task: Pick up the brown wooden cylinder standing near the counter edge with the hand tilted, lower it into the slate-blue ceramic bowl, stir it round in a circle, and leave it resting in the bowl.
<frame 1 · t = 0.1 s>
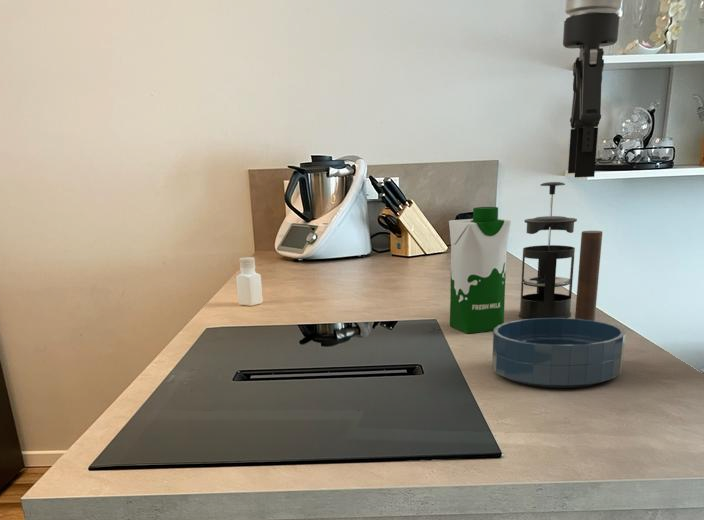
hand: (580, 175, 120), 25 cm above the countertop, tool pointing down, fingers open, 13 cm apart
bowl: (555, 373, 109), on the countertop
milk carton: (475, 328, 137), on the countertop
french press: (544, 316, 145), on the countertop
pepper shaker: (250, 305, 166), on the countertop
brown wooden cylinder: (583, 330, 132), on the countertop
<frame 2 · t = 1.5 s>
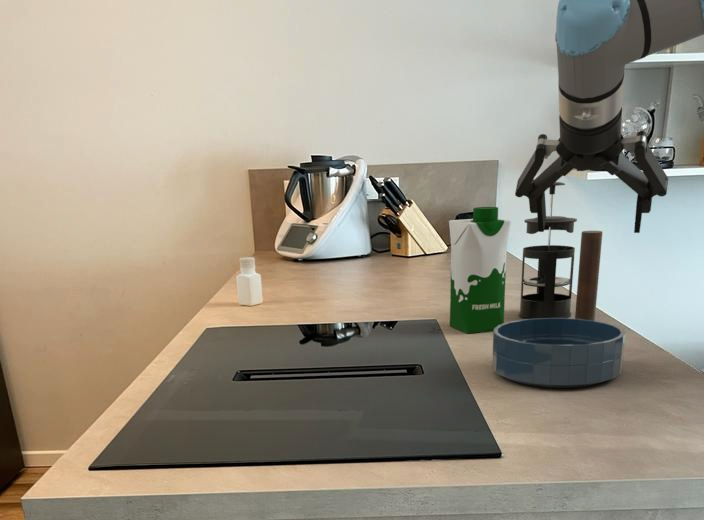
hand: (589, 225, 116), 18 cm above the countertop, tool tilted 45°, fingers open, 13 cm apart
nothing on the countertop moved.
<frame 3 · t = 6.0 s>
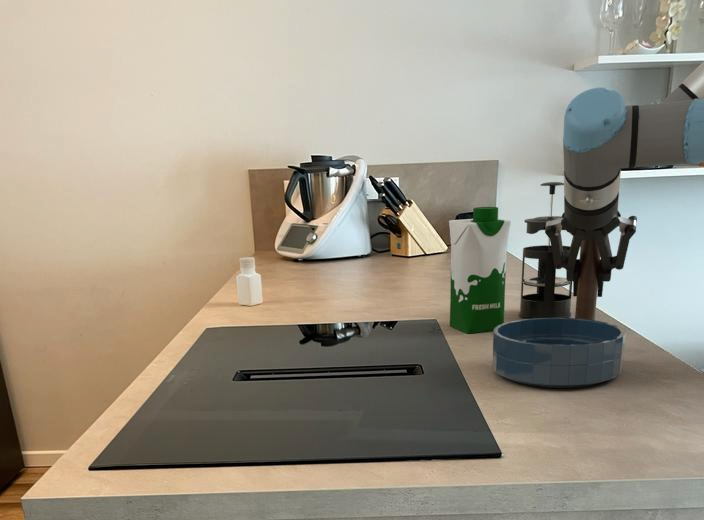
hand: (588, 289, 133), 6 cm above the countertop, tool tilted 45°, fingers closed on brown wooden cylinder, 3 cm apart
brown wooden cylinder: (583, 330, 132), on the countertop, touching gripper
everything else where it was.
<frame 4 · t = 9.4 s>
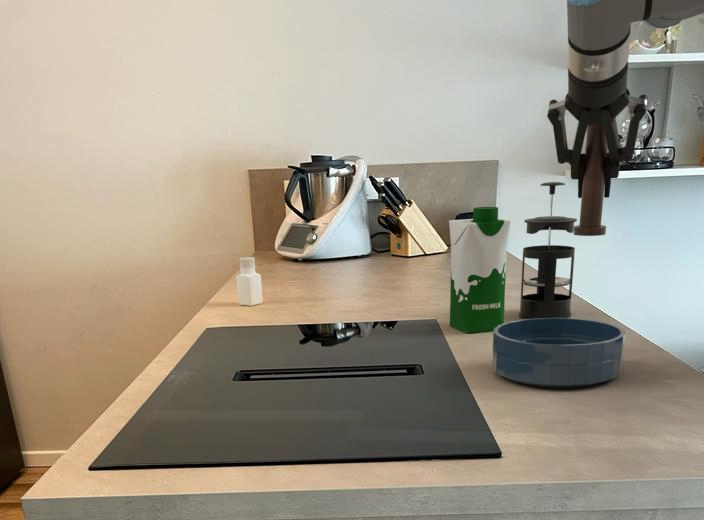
hand: (594, 190, 123), 22 cm above the countertop, tool tilted 45°, fingers closed on brown wooden cylinder, 3 cm apart
brown wooden cylinder: (589, 234, 122), point 16 cm above the countertop, touching gripper
everything else where it was.
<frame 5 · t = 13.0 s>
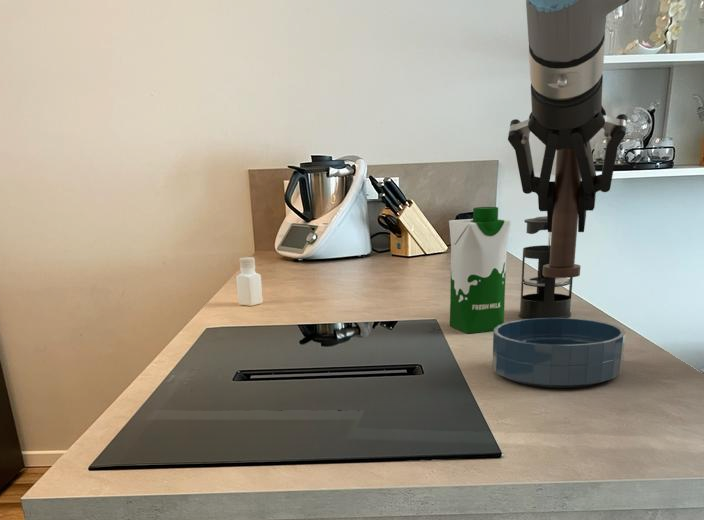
hand: (566, 223, 105), 19 cm above the countertop, tool tilted 45°, fingers closed on brown wooden cylinder, 3 cm apart
brown wooden cylinder: (561, 275, 104), point 13 cm above the countertop, touching gripper
everything else where it was.
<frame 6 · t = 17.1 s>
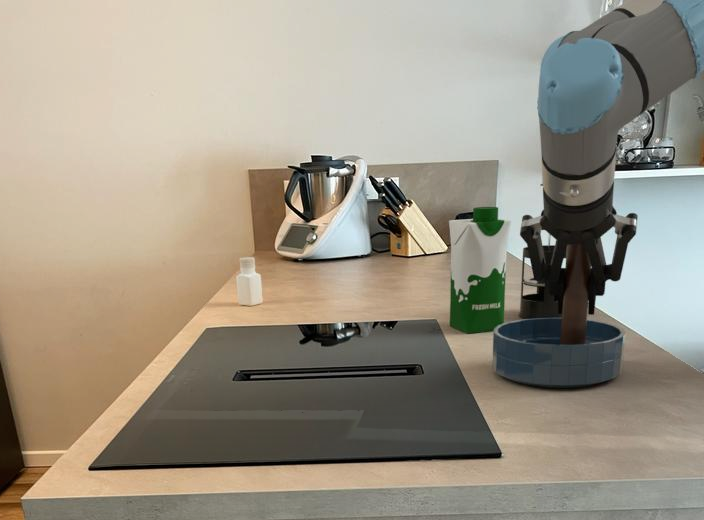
hand: (577, 305, 107), 9 cm above the countertop, tool tilted 45°, fingers closed on brown wooden cylinder, 3 cm apart
brown wooden cylinder: (571, 357, 106), point 3 cm above the countertop, touching gripper
everything else where it was.
when the fingers open (7 cm above the countertop, at t = 19.9 s): brown wooden cylinder stays where it is, resting on bowl.
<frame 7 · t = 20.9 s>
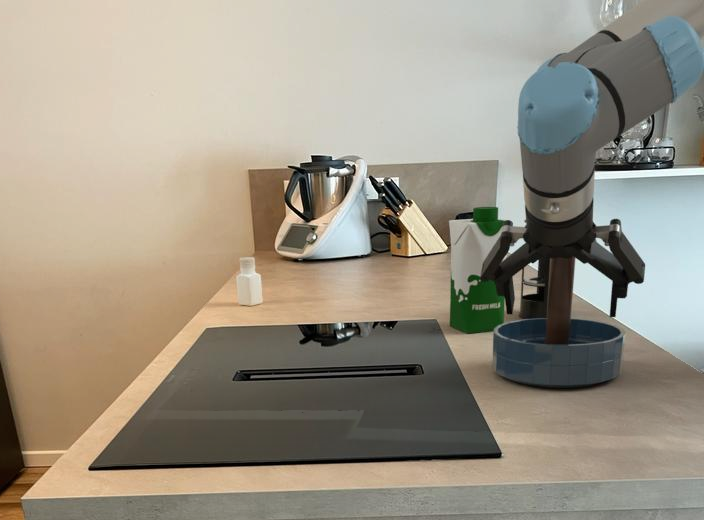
hand: (561, 307, 107), 9 cm above the countertop, tool tilted 45°, fingers open, 13 cm apart
brown wooden cylinder: (555, 367, 108), point 1 cm above the countertop, touching bowl
everything else where it was.
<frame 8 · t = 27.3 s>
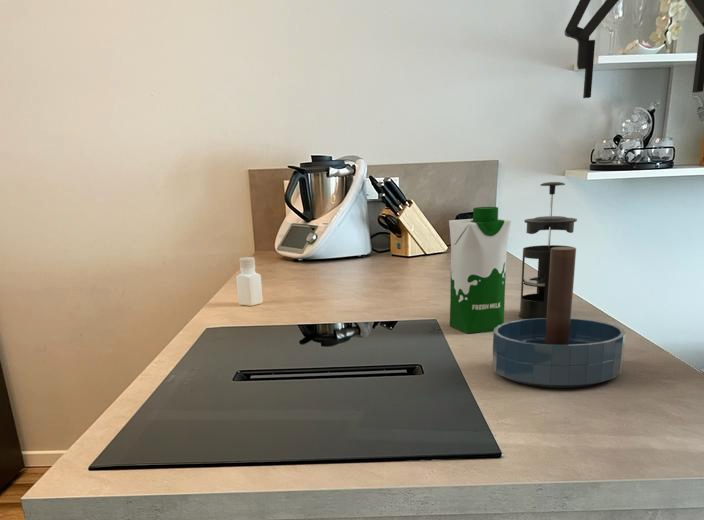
hand: (641, 95, 102), 35 cm above the countertop, tool pointing down, fingers open, 13 cm apart
nothing on the countertop moved.
at the end: brown wooden cylinder inside the target area in the bowl (0.1 cm from its centre), point 0.8 cm above the bowl's base; the gripper is holding nothing; brown wooden cylinder moved 27.7 cm from its start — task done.
